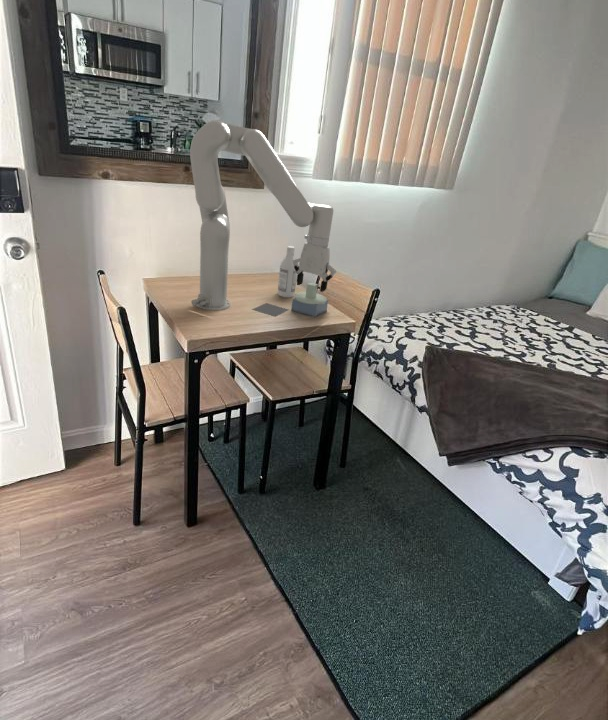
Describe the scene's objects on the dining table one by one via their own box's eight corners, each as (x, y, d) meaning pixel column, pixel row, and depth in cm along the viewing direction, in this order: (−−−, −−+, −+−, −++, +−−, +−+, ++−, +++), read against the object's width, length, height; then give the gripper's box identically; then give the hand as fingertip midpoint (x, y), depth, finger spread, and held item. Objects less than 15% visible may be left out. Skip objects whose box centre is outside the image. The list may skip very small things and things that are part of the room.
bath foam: (292, 293, 189) (297, 245, 180) (296, 298, 183) (301, 249, 175) (275, 292, 187) (280, 244, 178) (279, 298, 181) (284, 248, 173)
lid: (317, 307, 162) (320, 291, 159) (288, 298, 166) (290, 283, 164) (331, 299, 172) (333, 284, 169) (303, 291, 176) (305, 277, 173)
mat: (275, 317, 161) (275, 316, 161) (251, 310, 165) (251, 309, 164) (288, 310, 169) (289, 309, 169) (266, 304, 173) (266, 302, 173)
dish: (314, 318, 165) (316, 305, 163) (291, 311, 169) (292, 298, 167) (326, 311, 173) (328, 299, 171) (303, 305, 177) (305, 293, 175)
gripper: (291, 237, 160) (285, 283, 167) (335, 247, 153) (327, 295, 161) (301, 235, 166) (295, 280, 173) (344, 245, 159) (336, 291, 167)
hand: (310, 287), depth 167 cm, fingers open, 9 cm apart
